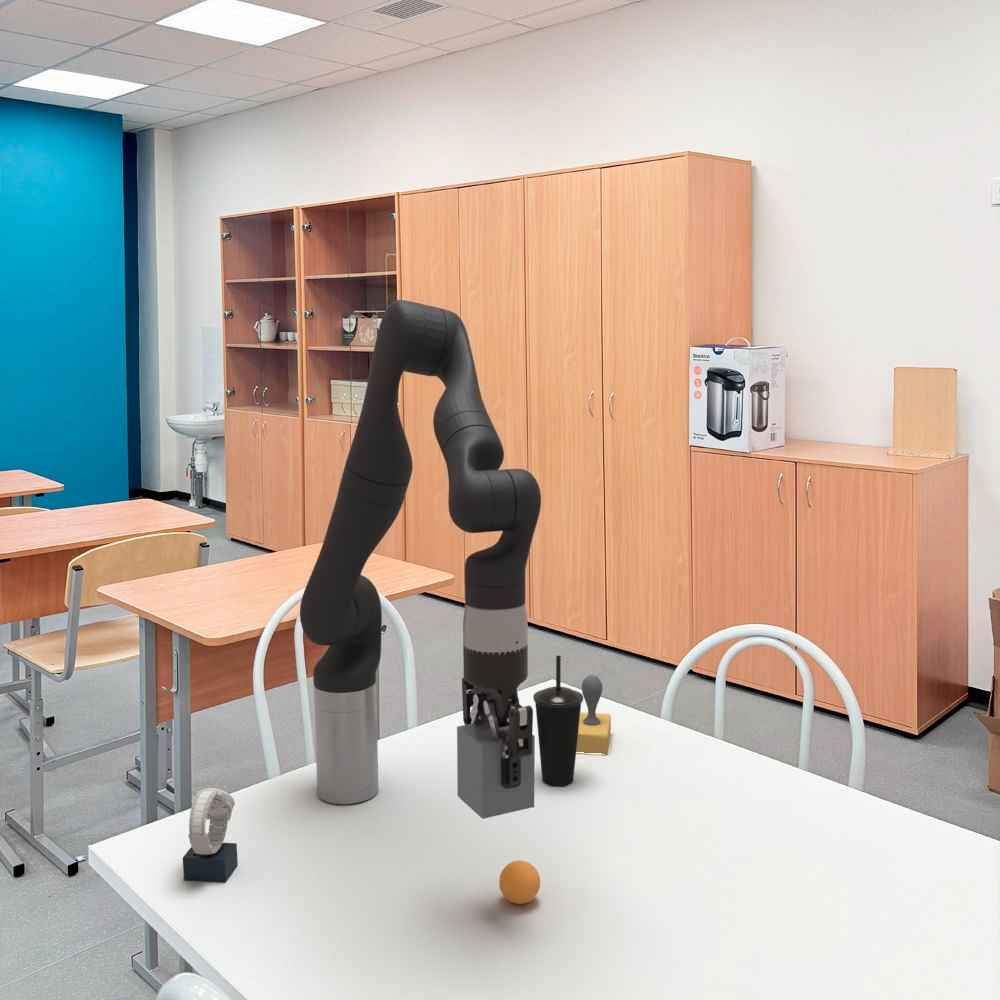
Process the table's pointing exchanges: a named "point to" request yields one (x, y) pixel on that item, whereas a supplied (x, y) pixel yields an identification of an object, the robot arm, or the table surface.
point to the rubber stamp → (593, 720)
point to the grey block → (490, 773)
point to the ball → (519, 882)
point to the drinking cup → (558, 730)
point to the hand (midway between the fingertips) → (496, 774)
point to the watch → (210, 838)
